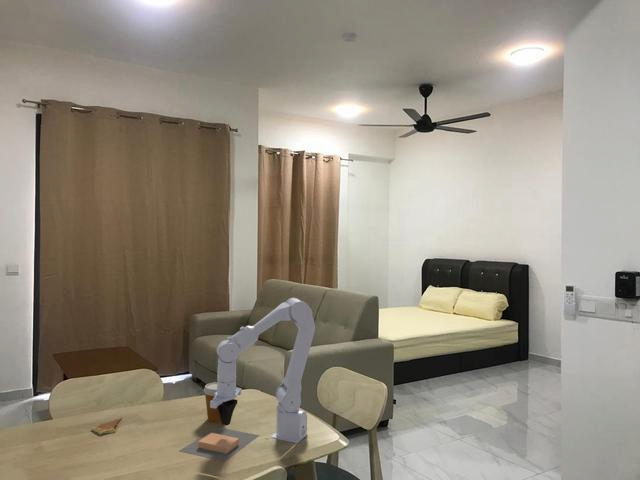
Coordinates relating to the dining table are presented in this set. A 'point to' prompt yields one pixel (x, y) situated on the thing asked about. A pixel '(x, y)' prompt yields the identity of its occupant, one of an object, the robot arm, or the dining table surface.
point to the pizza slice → (107, 427)
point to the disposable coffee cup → (209, 394)
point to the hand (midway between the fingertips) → (225, 424)
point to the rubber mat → (194, 449)
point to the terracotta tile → (218, 443)
